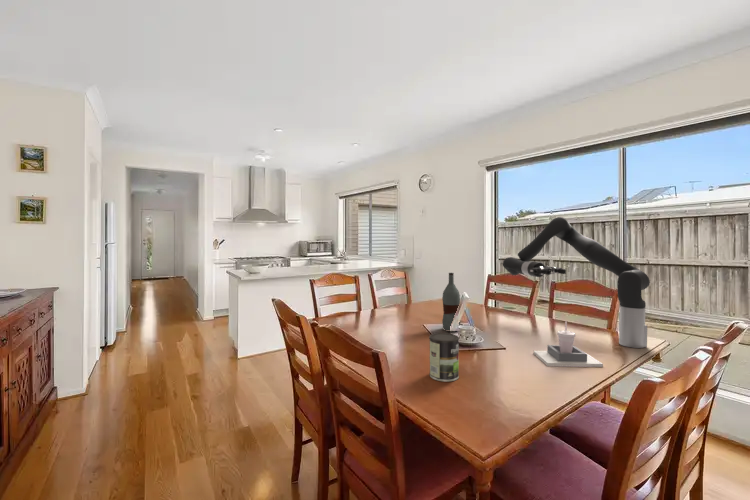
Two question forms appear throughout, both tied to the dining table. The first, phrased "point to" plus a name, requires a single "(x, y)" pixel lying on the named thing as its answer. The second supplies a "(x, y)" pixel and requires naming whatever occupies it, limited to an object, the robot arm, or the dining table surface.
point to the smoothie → (566, 340)
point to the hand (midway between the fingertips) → (557, 272)
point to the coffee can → (444, 357)
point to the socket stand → (566, 357)
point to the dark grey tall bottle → (450, 302)
